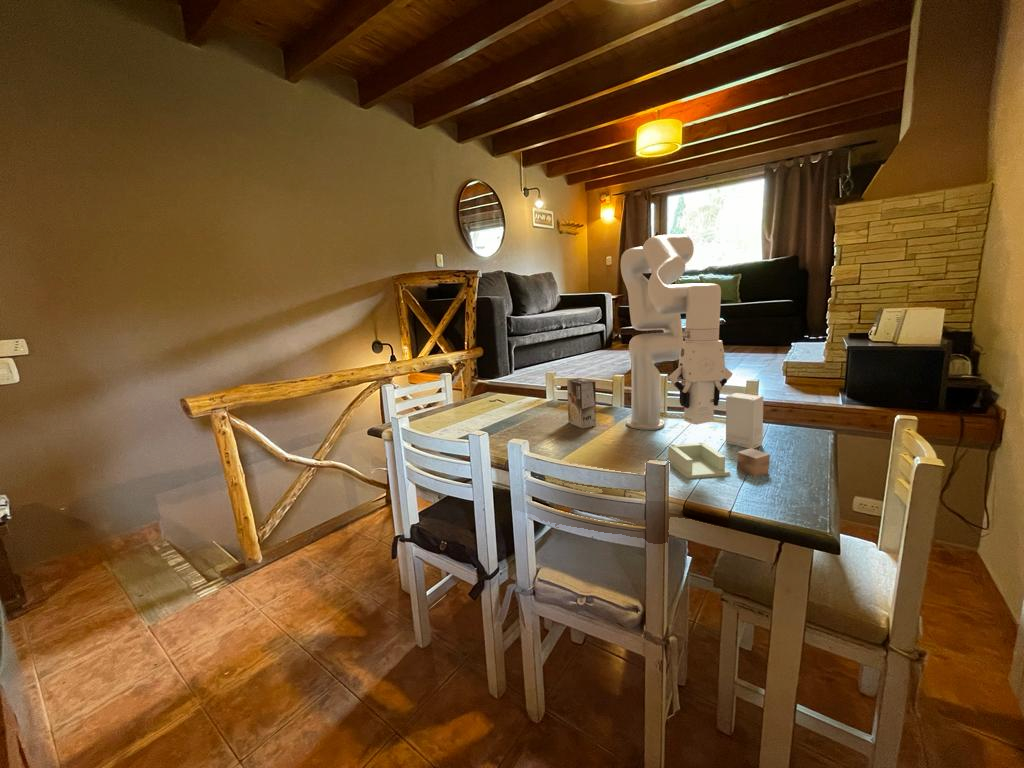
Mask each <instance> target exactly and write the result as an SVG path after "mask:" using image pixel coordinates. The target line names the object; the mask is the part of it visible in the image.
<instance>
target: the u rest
mask: <svg viewBox="0 0 1024 768" xmlns="http://www.w3.org/2000/svg"><path fill="white" fill-rule="evenodd" d="M666 460H669V461H670V463H669V465H671V466H672V467H673V468H674V469H676V471H678V472H679V473H680V474H681V475H682V476H684V478H686V479H699V478H700V479H701V478H710V477H711V478H712V477H713V478H714V477H722V476H723V477H725V476H730V475H731V472H730V471H729V470H728V469H726V456H725V455H723V454H722V453H721V452H719V451H717V450H715V449H714V448H712V446H709V445H708V444H706V443H705V442H693V443H682V444H681V443H680V444H671V445H670V444H669V445H668V446H667V456H666V458H665V461H666Z"/></svg>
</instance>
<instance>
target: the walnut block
mask: <svg viewBox="0 0 1024 768" xmlns="http://www.w3.org/2000/svg"><path fill="white" fill-rule="evenodd" d="M770 457H771V454H769V453H766V452H764V451H762V450H761V451H760V450H757V449H756V448H754V449H752V448H750V449H749V448H746V449H743V450H741V451H738V452H737V457H736V471H737V472H739V473H743V474H746V475H747V476H750V477H753V478H757V477H760V476H763V475H767V474H769V470H770Z"/></svg>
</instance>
